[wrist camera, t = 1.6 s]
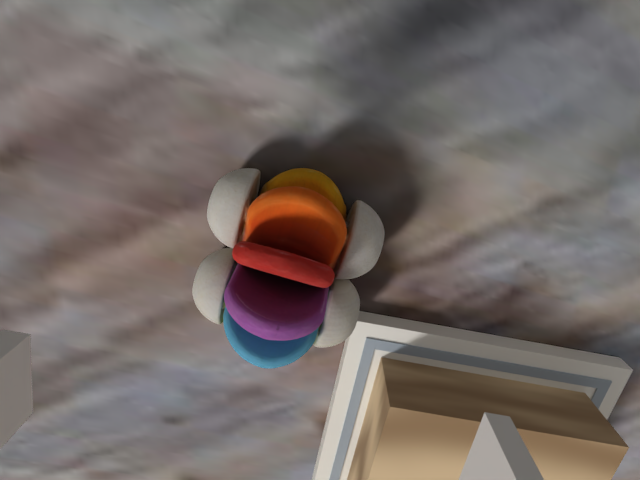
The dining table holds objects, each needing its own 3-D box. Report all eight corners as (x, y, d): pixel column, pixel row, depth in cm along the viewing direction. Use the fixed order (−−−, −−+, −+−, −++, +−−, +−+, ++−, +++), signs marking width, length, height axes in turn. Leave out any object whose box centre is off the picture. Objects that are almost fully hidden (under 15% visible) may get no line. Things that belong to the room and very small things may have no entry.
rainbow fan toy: (392, 184, 23) (418, 230, 16) (339, 339, 26) (342, 431, 19) (232, 139, 22) (189, 167, 15) (198, 303, 26) (150, 386, 19)
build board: (352, 309, 25) (353, 321, 24) (620, 357, 26) (634, 371, 25) (299, 529, 31) (298, 547, 30) (516, 563, 32) (523, 582, 31)
